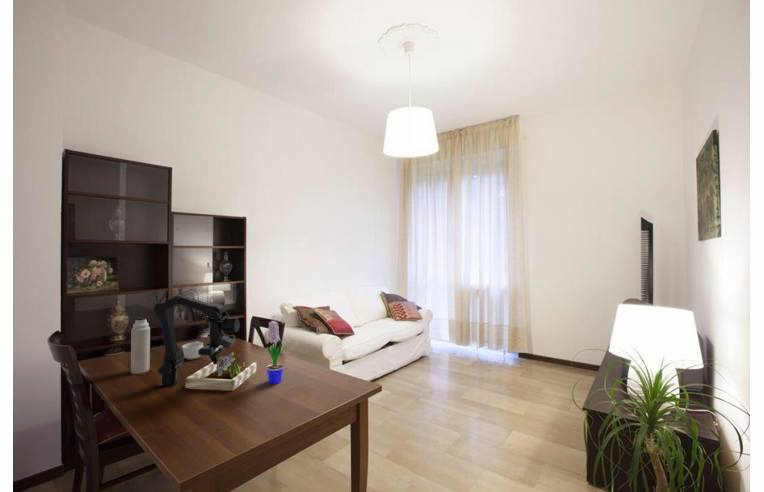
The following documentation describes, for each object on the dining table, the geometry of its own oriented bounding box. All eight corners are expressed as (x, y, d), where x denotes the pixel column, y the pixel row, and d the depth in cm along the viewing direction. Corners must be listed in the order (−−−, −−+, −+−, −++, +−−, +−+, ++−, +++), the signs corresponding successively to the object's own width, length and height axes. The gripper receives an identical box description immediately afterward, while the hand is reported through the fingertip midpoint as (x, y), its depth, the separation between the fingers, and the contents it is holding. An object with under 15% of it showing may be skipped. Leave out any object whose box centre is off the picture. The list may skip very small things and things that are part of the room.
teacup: (196, 361, 193) (196, 347, 193) (177, 360, 194) (178, 346, 194) (209, 353, 207) (209, 340, 207) (192, 353, 208) (192, 339, 208)
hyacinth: (281, 386, 162) (282, 323, 161) (261, 384, 164) (262, 321, 163) (289, 379, 170) (290, 319, 170) (271, 377, 172) (272, 318, 172)
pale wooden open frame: (233, 390, 156) (233, 380, 156) (185, 388, 157) (185, 378, 157) (256, 370, 180) (256, 362, 180) (214, 369, 182) (214, 360, 182)
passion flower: (219, 388, 172) (209, 364, 176) (242, 377, 181) (232, 354, 185) (226, 380, 164) (215, 355, 168) (249, 369, 173) (239, 346, 177)
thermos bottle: (139, 367, 182) (140, 315, 182) (153, 368, 181) (154, 316, 181) (126, 373, 174) (127, 318, 174) (141, 374, 173) (142, 319, 173)
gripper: (221, 337, 152) (221, 372, 152) (241, 327, 170) (241, 358, 170) (197, 336, 152) (197, 371, 152) (220, 326, 171) (219, 357, 171)
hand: (215, 364), depth 161 cm, fingers closed
